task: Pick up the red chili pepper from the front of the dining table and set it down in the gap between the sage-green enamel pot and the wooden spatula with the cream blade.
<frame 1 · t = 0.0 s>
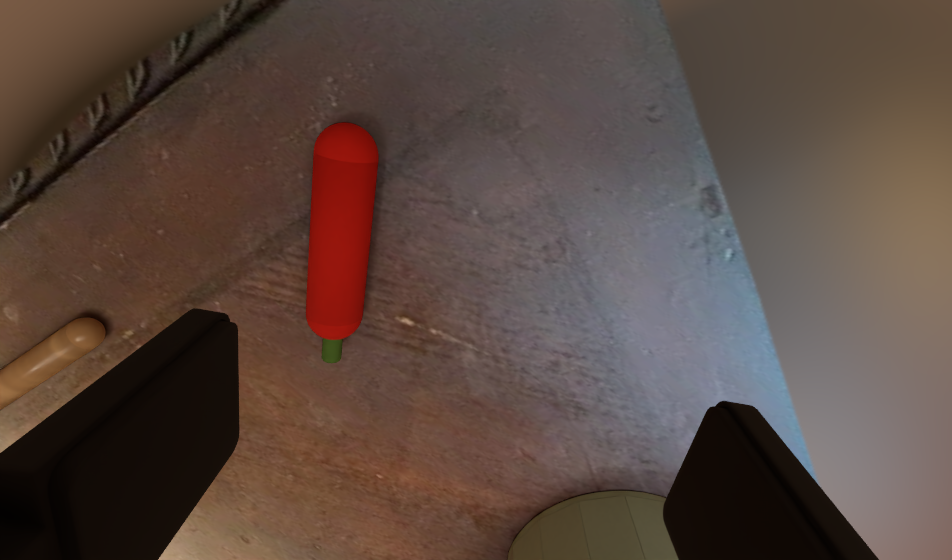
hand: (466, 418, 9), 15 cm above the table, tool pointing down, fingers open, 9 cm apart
chili pepper: (348, 230, 24), on the table
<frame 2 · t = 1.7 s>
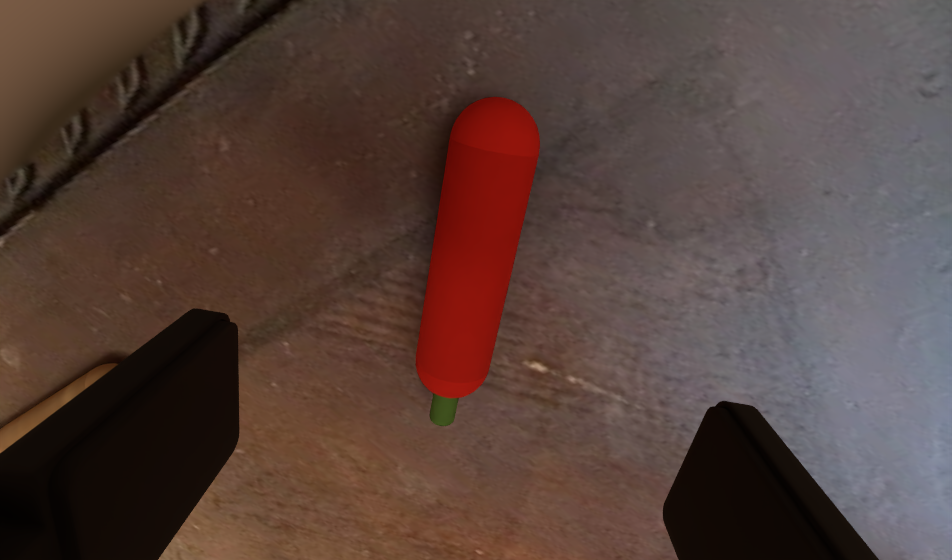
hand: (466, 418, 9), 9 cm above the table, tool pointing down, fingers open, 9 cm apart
chili pepper: (472, 249, 18), on the table
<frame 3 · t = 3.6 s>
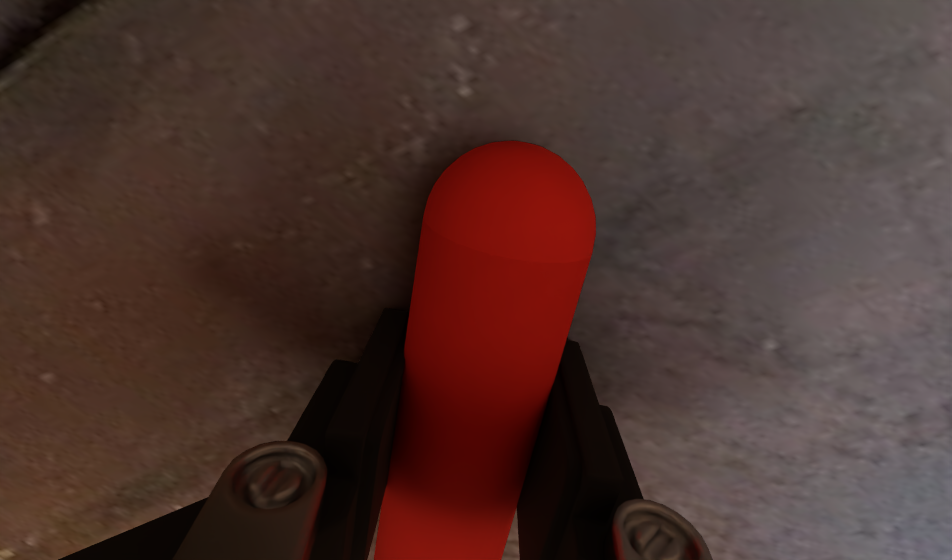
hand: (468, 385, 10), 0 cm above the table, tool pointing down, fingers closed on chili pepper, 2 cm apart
chili pepper: (469, 380, 11), on the table, touching gripper
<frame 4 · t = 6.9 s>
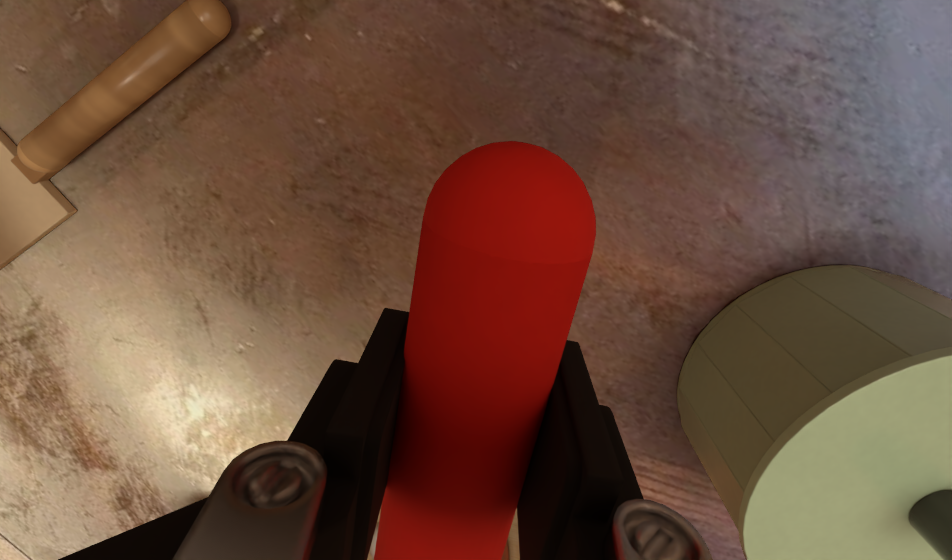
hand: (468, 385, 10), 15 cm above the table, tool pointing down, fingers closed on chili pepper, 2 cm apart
pot: (804, 381, 28), on the table
pot lid: (929, 501, 20), point 8 cm above the table, touching pot
spatula: (71, 140, 23), on the table
chili pepper: (469, 380, 11), point 15 cm above the table, touching gripper
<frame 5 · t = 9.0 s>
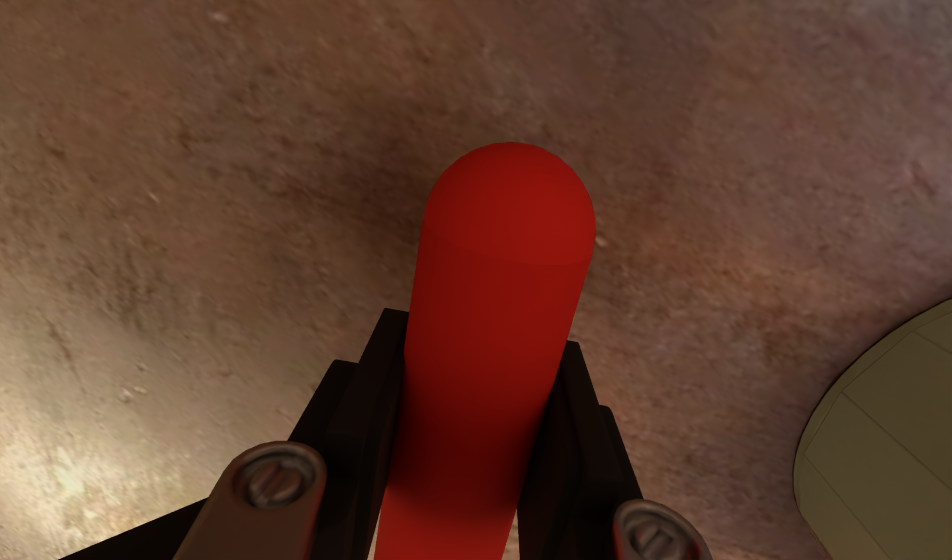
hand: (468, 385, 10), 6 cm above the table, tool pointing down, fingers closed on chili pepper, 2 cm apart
chili pepper: (469, 381, 11), point 6 cm above the table, touching gripper
when the fingers open (0 cm above the table, at t = 10.6 s): chili pepper stays where it is, on the table.
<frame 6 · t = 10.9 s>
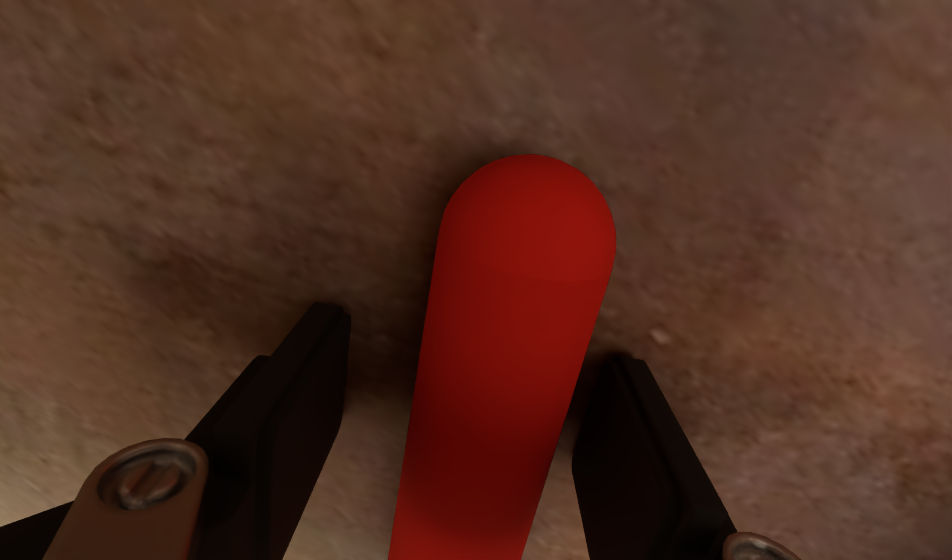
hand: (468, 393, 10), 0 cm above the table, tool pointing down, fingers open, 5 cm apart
chili pepper: (472, 392, 10), on the table, tilted 9°
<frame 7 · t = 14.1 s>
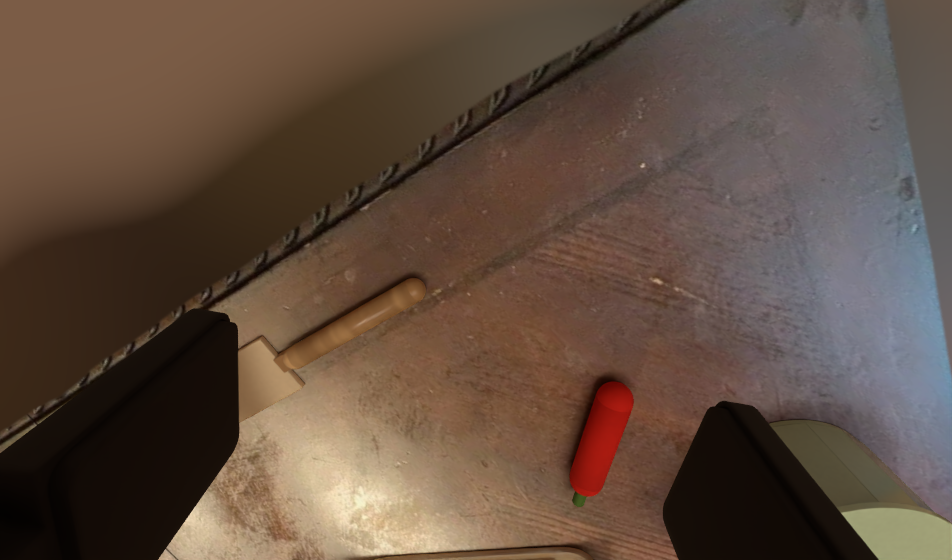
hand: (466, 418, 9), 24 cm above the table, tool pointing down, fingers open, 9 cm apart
pot: (779, 487, 41), on the table
spatula: (309, 345, 37), on the table
chili pepper: (589, 446, 37), point 2 cm above the table, tilted 133°
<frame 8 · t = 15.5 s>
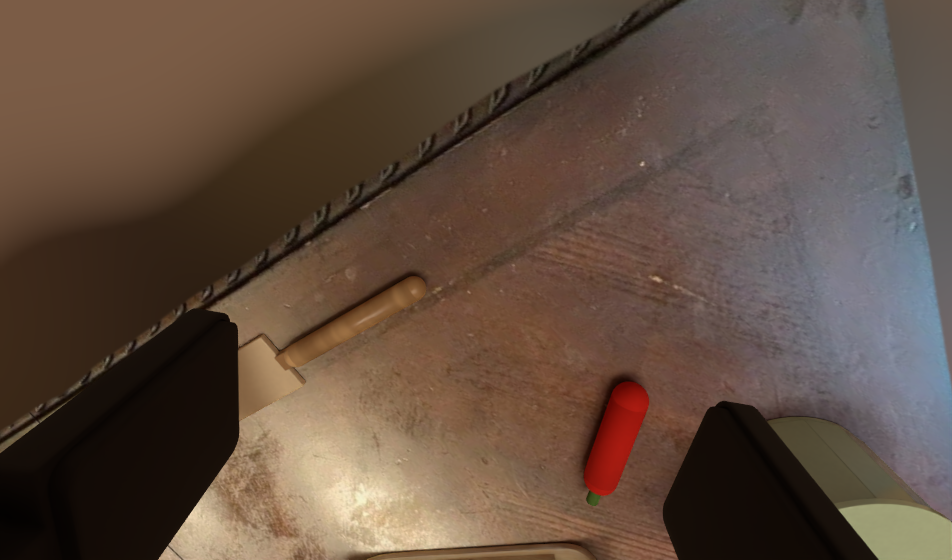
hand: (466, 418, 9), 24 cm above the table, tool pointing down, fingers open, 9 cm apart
pot: (778, 484, 41), on the table
spatula: (310, 343, 37), on the table
chili pepper: (620, 452, 37), point 3 cm above the table, tilted 176°
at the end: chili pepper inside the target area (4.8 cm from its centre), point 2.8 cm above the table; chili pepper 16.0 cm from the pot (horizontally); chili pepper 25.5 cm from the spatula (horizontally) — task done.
